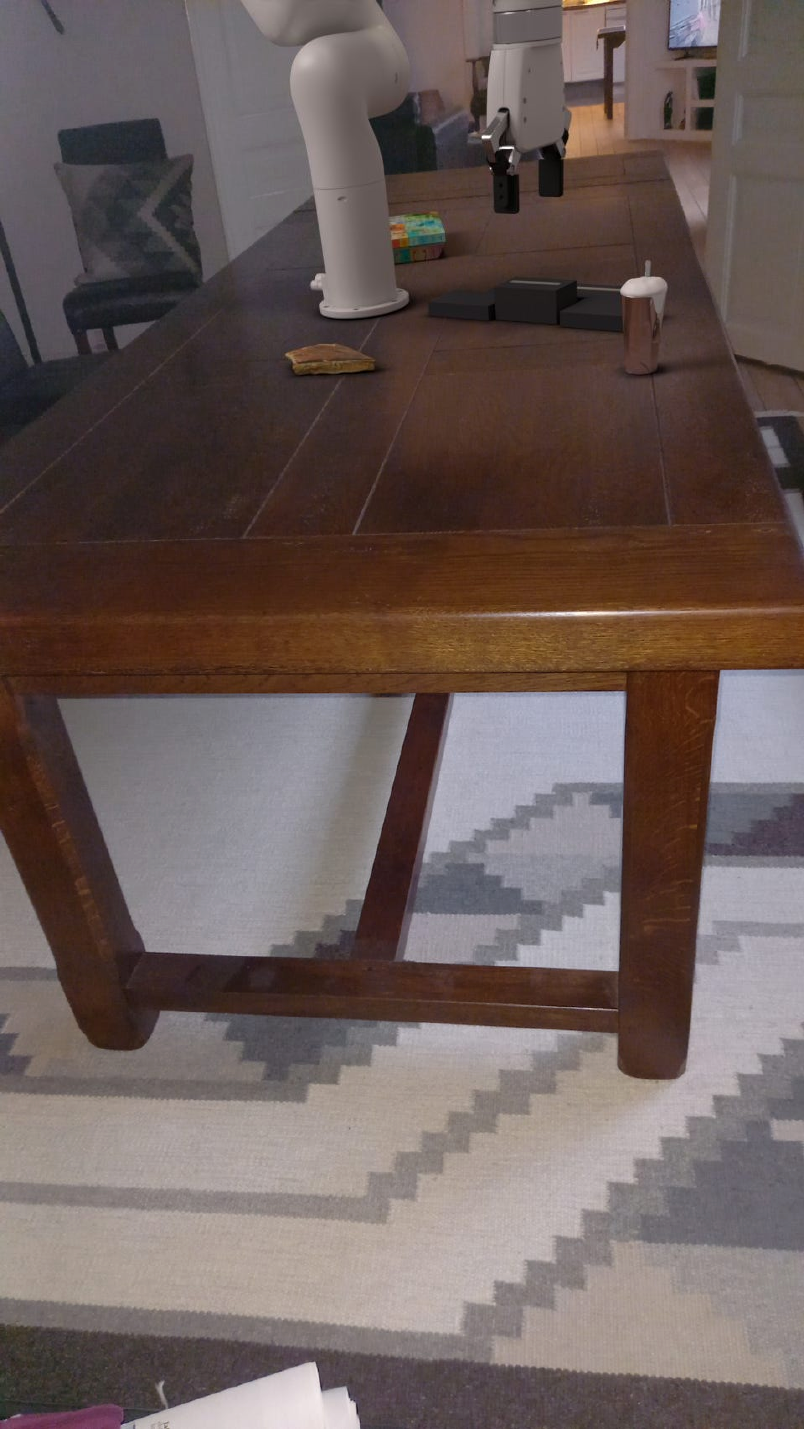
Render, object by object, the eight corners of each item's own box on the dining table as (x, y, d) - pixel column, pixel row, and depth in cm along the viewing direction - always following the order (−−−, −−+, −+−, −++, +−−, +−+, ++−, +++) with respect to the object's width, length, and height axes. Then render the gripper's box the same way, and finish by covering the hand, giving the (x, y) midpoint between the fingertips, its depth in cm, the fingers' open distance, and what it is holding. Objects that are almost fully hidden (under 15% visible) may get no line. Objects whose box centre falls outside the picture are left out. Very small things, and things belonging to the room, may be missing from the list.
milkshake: (667, 360, 104) (671, 259, 98) (660, 377, 100) (665, 272, 94) (623, 361, 106) (625, 261, 100) (615, 377, 102) (617, 274, 96)
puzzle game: (371, 236, 155) (370, 215, 172) (375, 267, 158) (374, 244, 174) (444, 226, 155) (437, 206, 171) (447, 258, 158) (439, 235, 174)
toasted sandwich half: (378, 372, 112) (376, 356, 111) (318, 389, 110) (316, 373, 109) (336, 353, 120) (334, 338, 119) (280, 369, 118) (277, 354, 117)
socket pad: (428, 316, 130) (427, 300, 129) (481, 291, 138) (480, 277, 136) (631, 333, 114) (632, 316, 113) (679, 304, 121) (680, 288, 120)
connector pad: (495, 319, 125) (493, 285, 123) (516, 309, 128) (515, 275, 125) (556, 324, 120) (556, 289, 118) (577, 313, 123) (577, 278, 121)
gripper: (540, 25, 114) (540, 190, 124) (453, 40, 103) (461, 219, 114) (597, 20, 110) (593, 191, 120) (513, 36, 99) (516, 221, 110)
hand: (529, 204), depth 117 cm, fingers open, 9 cm apart
